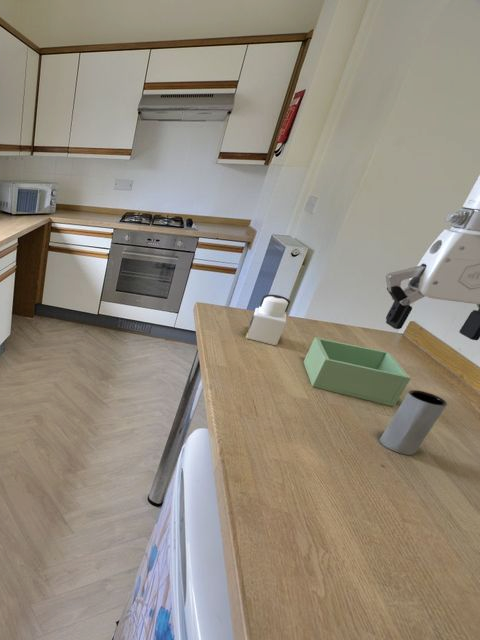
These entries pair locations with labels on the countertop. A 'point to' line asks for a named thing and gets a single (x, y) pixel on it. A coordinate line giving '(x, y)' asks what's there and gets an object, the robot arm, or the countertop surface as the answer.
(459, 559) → the countertop surface
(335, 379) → the basket
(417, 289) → the robot arm
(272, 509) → the countertop surface
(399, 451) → the grey cylinder
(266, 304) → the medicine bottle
